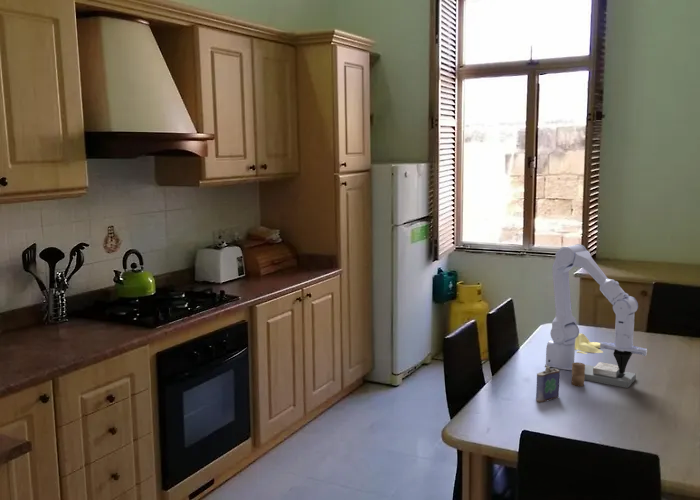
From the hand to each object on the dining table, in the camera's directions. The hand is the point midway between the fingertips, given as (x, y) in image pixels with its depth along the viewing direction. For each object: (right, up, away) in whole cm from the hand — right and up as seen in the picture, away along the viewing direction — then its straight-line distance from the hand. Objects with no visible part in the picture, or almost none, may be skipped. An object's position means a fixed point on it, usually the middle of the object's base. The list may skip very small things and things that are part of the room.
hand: (621, 372), depth 225 cm
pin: (-16, -4, -2) cm, 16 cm away
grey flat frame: (-5, -3, +4) cm, 7 cm away
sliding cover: (-4, 0, +3) cm, 5 cm away
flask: (-29, -6, -14) cm, 33 cm away
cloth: (0, +2, +38) cm, 38 cm away
